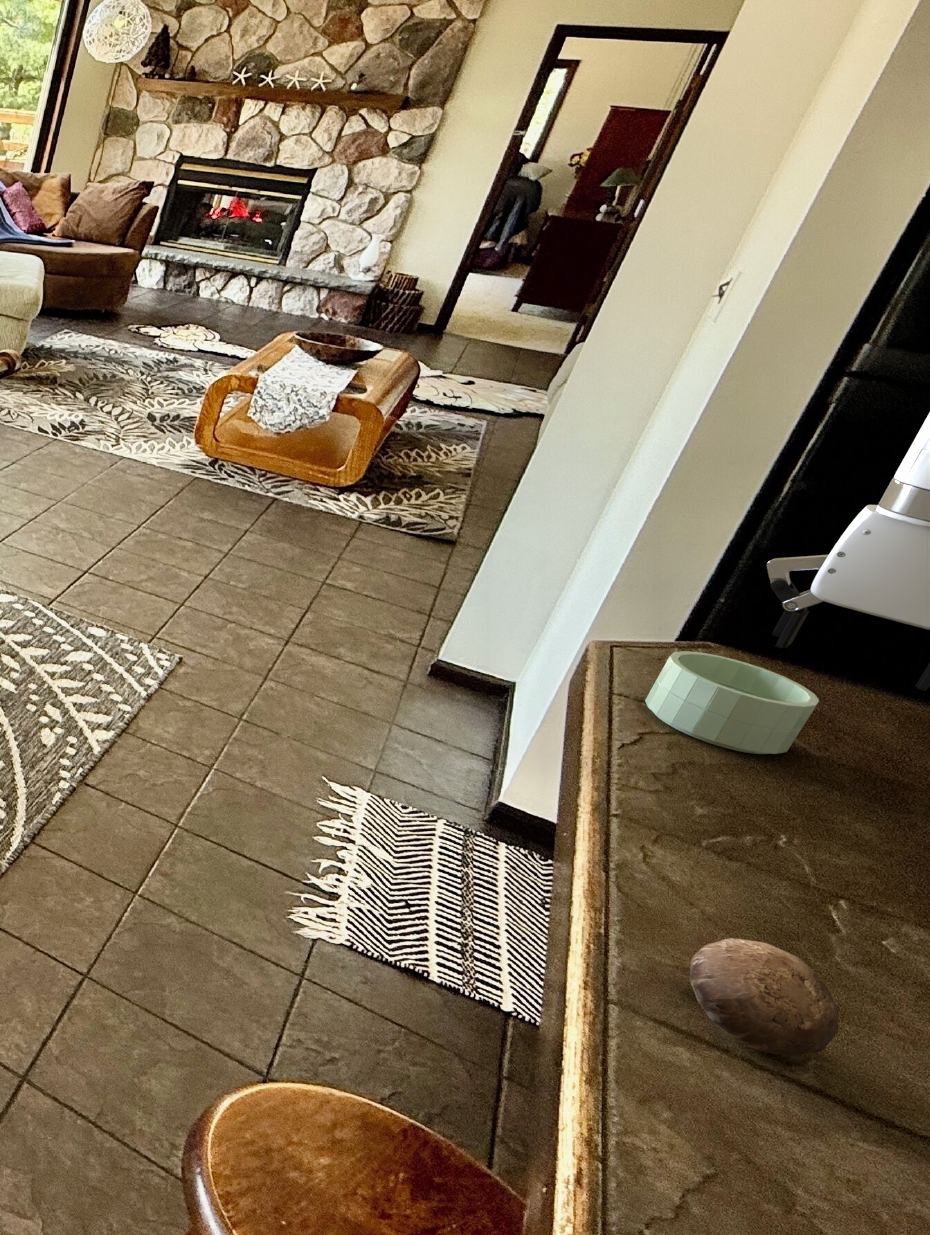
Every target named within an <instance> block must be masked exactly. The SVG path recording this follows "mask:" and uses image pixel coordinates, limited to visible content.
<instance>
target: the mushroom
mask: <svg viewBox="0 0 930 1235" xmlns="http://www.w3.org/2000/svg"><path fill="white" fill-rule="evenodd" d="M689 982H690V985H691V987H692V990H693V992H694V996H695V998H696V1000H697V1002H698V1004H699V1005H700V1007H701V1008H702V1009H703V1011H704V1012H705V1014H706V1015H707V1016H708V1018H709V1019H710V1021H711V1022H712V1023H713V1024H715V1025H716V1026H717V1027H718V1028H719V1029H720V1030H722V1031H723V1032H724V1033H726V1034H727V1035H728V1036H729V1037H731V1038H732V1039H734V1040H735V1041H737V1042H739V1043H740V1044H743V1045H746V1046H748V1047H750V1048H752V1049H754V1050H756V1051H759V1052H760V1053H761V1052H762V1053H768V1054H774V1055H781V1056H782V1055H783V1056H788V1057H789V1056H791V1057H792V1056H798V1055H799V1056H800V1055H806V1054H814V1053H820V1052H822V1051H824V1050H825V1049H826V1047H827V1046H828V1045H829V1044H830V1043H831V1042H832V1041H833V1039H834V1038H835V1037H836V1036H837V1035H838V1033H839V1009H838V1007H837V1005H836V1003H835V1000H834V998H833V996H832V994H831V992H830V990H829V989H828V987H827V986H826V984H825V982H823V980H822V978H821V977H820V976H819V974H818V973H816V971H814V970H813V969H812V968H811V967H810V966H809V965H808V964H807V963H806V962H805V961H803V959H801V958H800V957H798V956H797V955H794V954H792V953H790V952H788V951H785V950H783V949H781V948H778V947H776V946H774V945H772V944H769V943H767V942H764V941H763V942H762V941H755V940H749V939H743V938H734V937H733V938H732V937H729V938H725V939H722V940H718V941H715V942H710V943H708V944H707V943H706V944H704V945H703V946H702V947H701V948H700V949H699V950H698V951H697V952H696V953H695V954H694V955H693V956H692V957H691V960H690V968H689Z"/></svg>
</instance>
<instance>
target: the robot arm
mask: <svg viewBox="0 0 930 1235" xmlns="http://www.w3.org/2000/svg"><path fill="white" fill-rule="evenodd" d="M766 570H767V574H768V578H769V581H770V589H771V590H772V591H773V593H774V594H775V595H776V597H777V598H778V599H779V601H780V602H781V603H782V608H783V609H784V611H783V613H782V615H781V617H780V618H779V620H778V622H777V624H776V625H775V627H774V629H773V631H772V633H771V636H773V637H777V638H778V640H777V642H776V644H775V648H778V649H787V647H789V646H790V645H791V644H792V643H793V642H794V640H795V638H796V636H797V634H798V632H799V631H800V629H801V628H802V626H803V623H804V622H805V620H806V618H807V616H808V615H809V613H810V611H808V607H812V606H814V605H818V604H821V603H824V602H826V603H829V604H831V605H835V606H839V607H842V608H845V609H850V610H852V611H857V612H861V613H864V614H868V615H871V616H875V617H878V618H882V619H886V620H890V621H894V622H897V623H901V624H904V625H905V624H906V625H909V626H912V627H917V628H920V629H924V630H929V631H930V412H929V413H928V415H927V417H926V418H925V420H924V422H923V424H922V425H921V427H920V429H919V431H918V433H917V434H916V436H915V438H914V439H913V441H912V443H911V445H910V447H909V448H908V450H907V452H906V454H905V456H904V458H903V459H902V461H901V463H900V465H899V466H898V468H897V469H896V471H895V474H894V476H893V477H892V479H891V481H890V482H889V485H888V486H887V488H886V489H885V491H884V493H883V495H882V497H881V498H880V501H879V502H878V504H867V505H866V506H865V507H864V508H863V509H861V511H860V512H859V513H858V514H857V515H856V516H855V518H853V520H852V521H851V523H850V524H849V525H848V526H847V528H846V529H845V531H844V532H843V533H842V534H841V535H840V537H839V539H838V540H837V542H836V543H835V544H834V546H833V548H832V549H831V551H830V552H829V554H821V555H818V554H817V555H807V556H791V557H778V558H773V559H771V560H769V561H768V562H767V563H766ZM806 570H807V571H809V570H818V571H817V573H816V575H815V577H814V578H813V581H812V583H811V586H810V589H808V590H806V591H803V592H799V591H798V589H797V588H796V586H795V585H794V584H793V582H792V581H791V578H790V572H792V571H806ZM914 687H915V688H917V690H920V691H923V692H926V691H927V690H928V689H929V687H930V662H929V663H928V665H927V667H926V668H925V670H924V671H923V673H922V674H921V676H920V678H919V680H918V681H917V682H916V684H915V686H914Z"/></svg>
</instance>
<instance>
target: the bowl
mask: <svg viewBox="0 0 930 1235" xmlns="http://www.w3.org/2000/svg"><path fill="white" fill-rule="evenodd" d="M644 701H645V704H646V706H647V708H648V709H649V711H651V712H652V713H653V714H654V715H655V716H656V717H657V719H659V720H661V721H662V722H663V723H665V724H666V725H667V726H670V727H671V728H672V729H675V730H677V731H679V732H682V733H683V734H686V735H688V736H690V737H692V738H694V739H697V740H701V741H703V742H706V743H708V744H711V745H713V746H714V745H715V746H716V747H717V746H718V747H721V748H724V749H728V750H732V751H736V752H742V753H748V754H753V755H769V754H770V755H778V754H784V753H787V752H788V751H789V750H790V748H791V747H792V745H793V743H794V742H795V740H796V739H797V737H798V735H799V734H800V732H802V729H803V728H804V726H805V725H806V723H807V721H808V720H809V718H810V717H811V715H812V713H813V712H814V710H815V709H816V707H817V706H818V705H819V702H820V699H819V697H817V694H815V693H814V692H813V691H811V690H810V689H808V688H807V687H806V686H804V685H802V684H800V683H799V682H796V681H794V680H792V679H791V678H788V677H787V676H784V675H781V674H779V673H777V672H773V671H771V670H768V669H766V668H763V667H760V666H757V665H754V664H750V663H748V662H744V661H741V660H737V659H734V658H731V657H727V656H721V655H718V654H712V653H707V652H701V651H689V650H682V651H674V652H673V653H671V654H670V656H668V658H667V660H666V662H665V664H664V666H663V667H662V669H661V671H660V672H659V674H658V676H657V679H656V680H655V682H654V683H653V686H652V687H651V689H650V691H649V693H648V694H647V696H646V698H645V699H644Z"/></svg>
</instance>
